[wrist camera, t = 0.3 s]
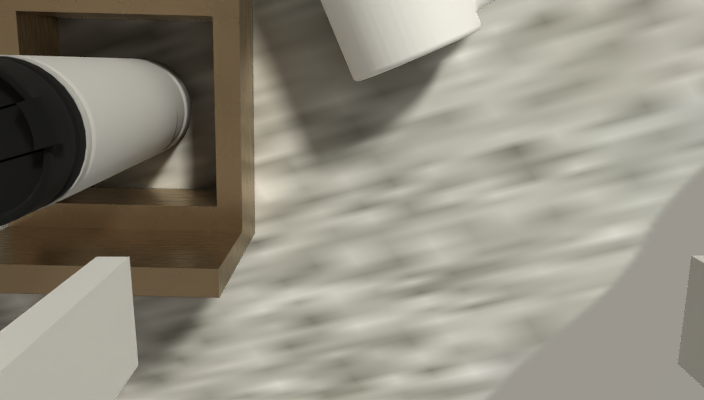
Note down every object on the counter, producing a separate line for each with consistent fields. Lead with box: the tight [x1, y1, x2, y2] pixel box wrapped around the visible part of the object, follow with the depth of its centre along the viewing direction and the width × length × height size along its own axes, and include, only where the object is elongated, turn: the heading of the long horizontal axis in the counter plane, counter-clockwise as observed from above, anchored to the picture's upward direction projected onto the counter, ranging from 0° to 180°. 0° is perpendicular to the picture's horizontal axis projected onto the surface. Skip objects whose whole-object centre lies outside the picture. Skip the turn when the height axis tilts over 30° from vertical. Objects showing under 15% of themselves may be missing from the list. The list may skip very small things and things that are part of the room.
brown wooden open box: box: [0, 0, 255, 298], centre depth 35 cm, size 16×14×12 cm
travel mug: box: [0, 55, 191, 226], centre depth 31 cm, size 6×7×20 cm
